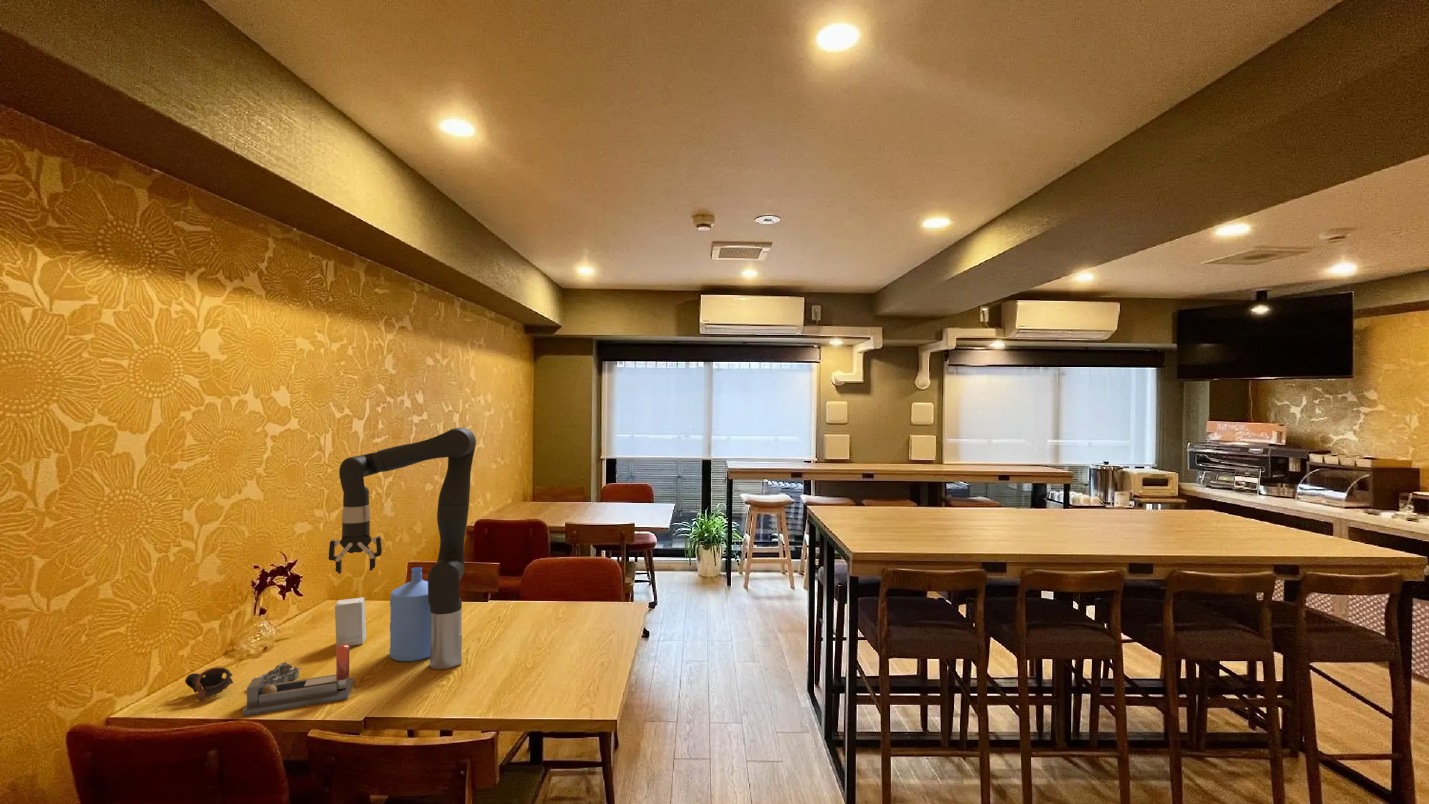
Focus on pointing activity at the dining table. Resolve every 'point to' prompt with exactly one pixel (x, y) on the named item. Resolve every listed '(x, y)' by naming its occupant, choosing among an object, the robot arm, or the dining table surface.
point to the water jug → (410, 620)
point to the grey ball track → (291, 695)
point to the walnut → (269, 689)
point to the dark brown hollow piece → (209, 682)
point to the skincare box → (350, 621)
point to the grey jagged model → (279, 670)
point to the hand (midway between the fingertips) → (355, 571)
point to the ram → (341, 670)
